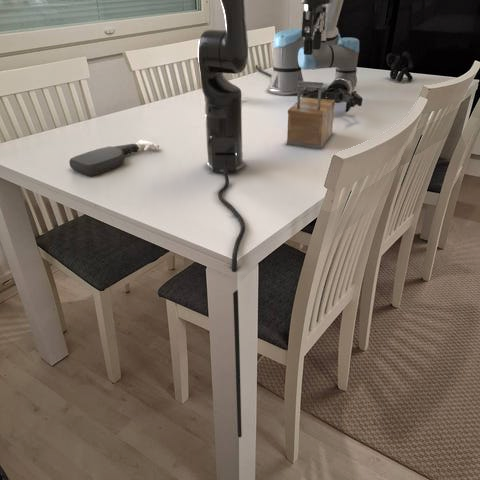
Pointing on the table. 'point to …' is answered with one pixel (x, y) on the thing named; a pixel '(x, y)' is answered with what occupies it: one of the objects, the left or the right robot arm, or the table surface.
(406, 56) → the squiggle
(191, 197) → the table surface
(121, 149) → the spray bottle
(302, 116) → the chest
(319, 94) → the wooden door panel
